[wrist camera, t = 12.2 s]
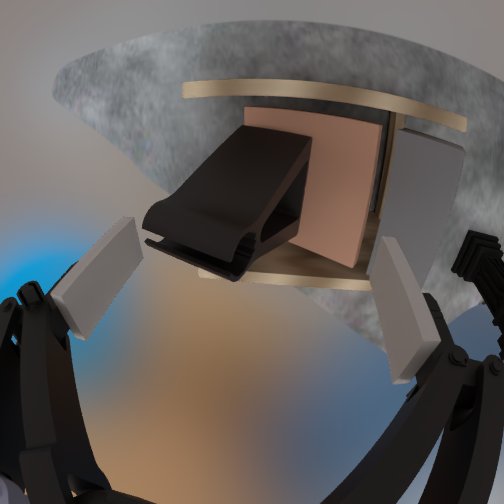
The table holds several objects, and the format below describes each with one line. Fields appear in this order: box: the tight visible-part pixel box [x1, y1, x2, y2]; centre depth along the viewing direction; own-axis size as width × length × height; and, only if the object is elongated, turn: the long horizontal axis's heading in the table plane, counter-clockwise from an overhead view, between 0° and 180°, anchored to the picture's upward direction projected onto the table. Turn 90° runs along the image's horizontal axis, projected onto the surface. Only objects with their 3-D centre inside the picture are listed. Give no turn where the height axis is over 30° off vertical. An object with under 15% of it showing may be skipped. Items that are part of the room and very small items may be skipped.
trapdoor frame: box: [182, 79, 467, 291], centre depth 25 cm, size 21×17×15 cm
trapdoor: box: [244, 106, 465, 289], centre depth 22 cm, size 18×12×4 cm
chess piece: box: [451, 230, 504, 361], centre depth 27 cm, size 8×8×20 cm
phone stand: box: [142, 125, 312, 282], centre depth 19 cm, size 9×6×12 cm, turn 176°
